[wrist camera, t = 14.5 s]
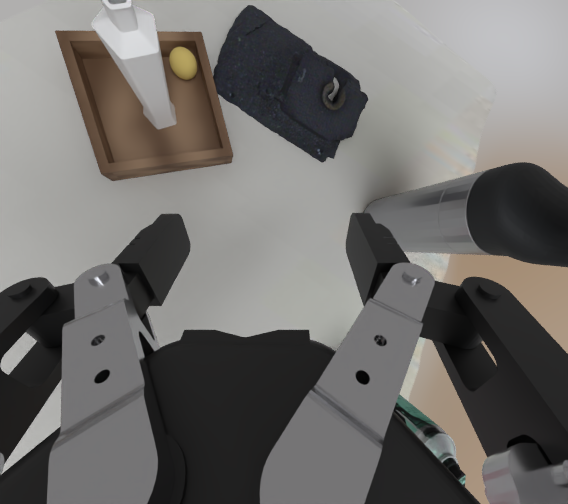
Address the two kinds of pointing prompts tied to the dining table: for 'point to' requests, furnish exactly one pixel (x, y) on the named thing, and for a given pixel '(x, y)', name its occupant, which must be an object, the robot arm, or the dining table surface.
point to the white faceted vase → (137, 56)
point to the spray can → (430, 436)
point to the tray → (129, 111)
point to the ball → (183, 63)
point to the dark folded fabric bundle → (287, 85)
